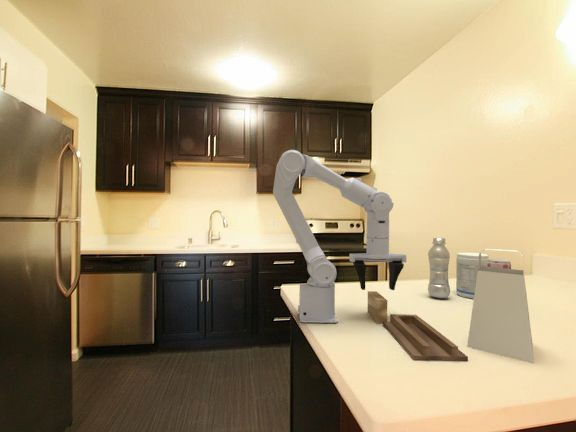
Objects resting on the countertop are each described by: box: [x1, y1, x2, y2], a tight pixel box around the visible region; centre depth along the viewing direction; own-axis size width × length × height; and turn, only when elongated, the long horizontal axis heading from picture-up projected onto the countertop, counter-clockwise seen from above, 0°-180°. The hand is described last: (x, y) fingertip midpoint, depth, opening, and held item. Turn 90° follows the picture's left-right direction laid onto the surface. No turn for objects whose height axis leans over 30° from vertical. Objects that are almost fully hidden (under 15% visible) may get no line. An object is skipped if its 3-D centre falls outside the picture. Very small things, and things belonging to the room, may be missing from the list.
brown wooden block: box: [367, 290, 388, 325], centre depth 77 cm, size 3×9×6 cm, turn 179°
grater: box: [466, 248, 535, 364], centre depth 61 cm, size 10×10×20 cm
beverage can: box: [487, 257, 512, 269], centre depth 83 cm, size 6×6×15 cm
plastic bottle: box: [427, 237, 451, 300], centre depth 98 cm, size 6×7×20 cm
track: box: [382, 313, 469, 362], centre depth 63 cm, size 10×18×3 cm, turn 179°
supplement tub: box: [455, 251, 489, 300], centre depth 100 cm, size 10×10×15 cm
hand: (377, 289), depth 77 cm, fingers open, 7 cm apart
